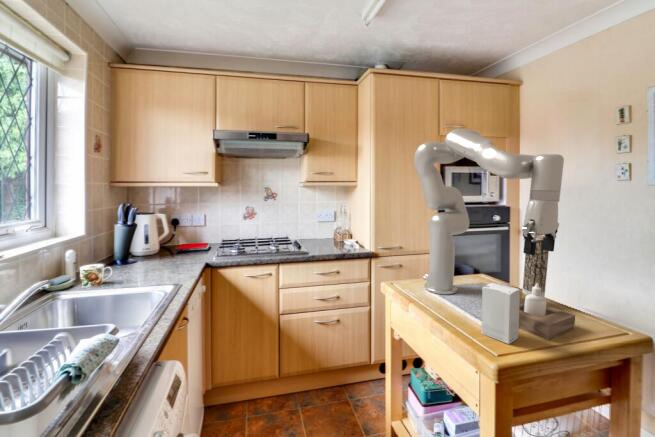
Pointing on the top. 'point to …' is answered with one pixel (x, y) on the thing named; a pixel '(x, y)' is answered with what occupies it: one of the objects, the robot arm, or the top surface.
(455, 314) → the top surface
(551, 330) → the dropper stand
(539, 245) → the bark textured log
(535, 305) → the eye dropper bottle
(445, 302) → the top surface
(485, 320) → the skincare box
